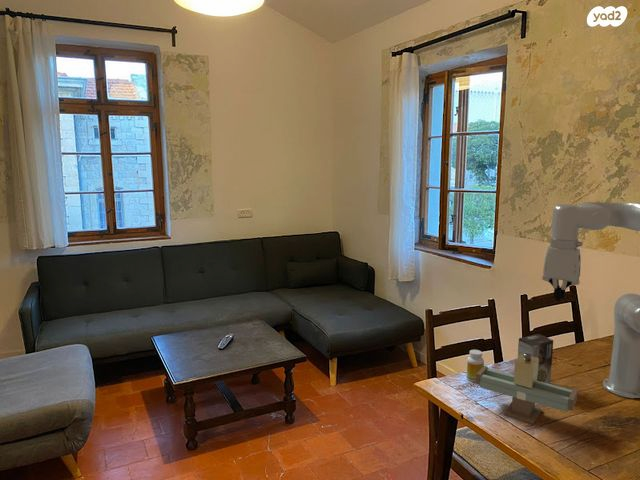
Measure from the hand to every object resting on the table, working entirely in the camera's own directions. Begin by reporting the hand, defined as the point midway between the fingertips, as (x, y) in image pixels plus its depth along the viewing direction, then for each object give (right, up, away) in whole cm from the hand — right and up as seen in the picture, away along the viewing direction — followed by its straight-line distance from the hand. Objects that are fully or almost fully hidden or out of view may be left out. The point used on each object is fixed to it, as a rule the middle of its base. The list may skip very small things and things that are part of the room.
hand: (558, 300), depth 154 cm
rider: (-16, -24, -13) cm, 32 cm away
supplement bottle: (-24, -28, +10) cm, 38 cm away
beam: (-17, -32, -12) cm, 38 cm away
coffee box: (-6, -29, +5) cm, 30 cm away
